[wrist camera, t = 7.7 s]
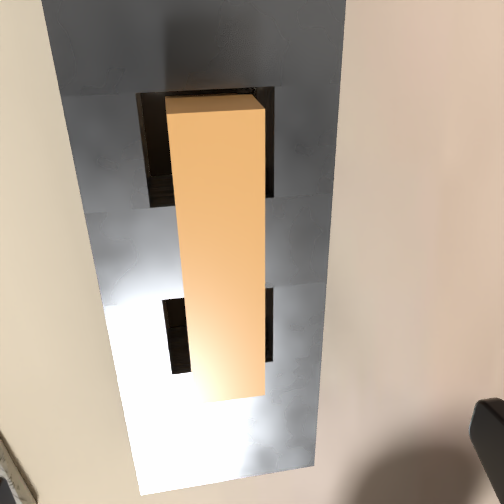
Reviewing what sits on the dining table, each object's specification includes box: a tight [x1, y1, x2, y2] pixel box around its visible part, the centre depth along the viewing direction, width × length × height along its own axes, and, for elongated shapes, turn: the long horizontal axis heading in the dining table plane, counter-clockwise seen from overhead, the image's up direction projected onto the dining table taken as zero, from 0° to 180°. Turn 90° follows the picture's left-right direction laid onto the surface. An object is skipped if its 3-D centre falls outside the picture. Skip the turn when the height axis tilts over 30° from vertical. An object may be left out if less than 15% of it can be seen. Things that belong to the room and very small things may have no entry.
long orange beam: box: [165, 93, 265, 405], centre depth 17 cm, size 2×10×5 cm, turn 1°
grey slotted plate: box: [41, 0, 346, 495], centre depth 18 cm, size 24×8×3 cm, turn 1°
